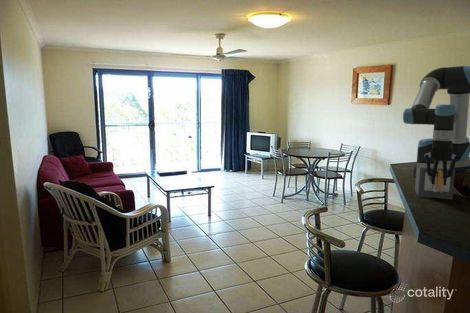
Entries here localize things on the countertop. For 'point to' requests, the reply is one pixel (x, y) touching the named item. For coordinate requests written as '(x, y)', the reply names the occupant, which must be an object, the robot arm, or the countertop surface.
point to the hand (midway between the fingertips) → (437, 191)
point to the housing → (421, 178)
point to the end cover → (439, 175)
